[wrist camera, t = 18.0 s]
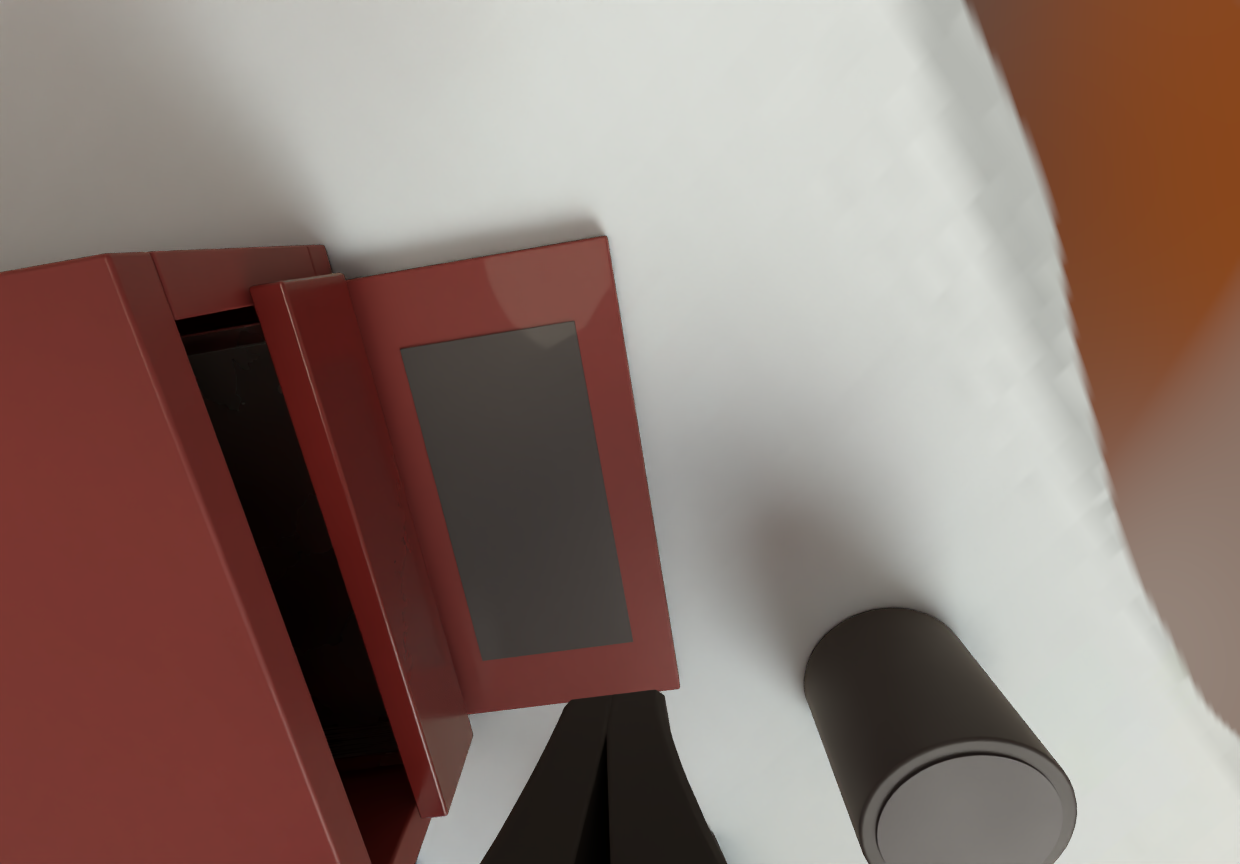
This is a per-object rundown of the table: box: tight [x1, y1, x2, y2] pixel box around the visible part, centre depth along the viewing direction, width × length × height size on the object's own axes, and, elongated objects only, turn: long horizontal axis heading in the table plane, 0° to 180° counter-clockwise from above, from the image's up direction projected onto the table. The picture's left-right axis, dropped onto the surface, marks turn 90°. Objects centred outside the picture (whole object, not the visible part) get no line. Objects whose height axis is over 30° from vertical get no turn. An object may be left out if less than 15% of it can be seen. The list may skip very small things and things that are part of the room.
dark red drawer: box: [179, 273, 473, 818], centre depth 17 cm, size 13×14×3 cm
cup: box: [804, 608, 1077, 864], centre depth 18 cm, size 5×5×6 cm
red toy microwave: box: [0, 236, 680, 864], centre depth 16 cm, size 22×16×8 cm
